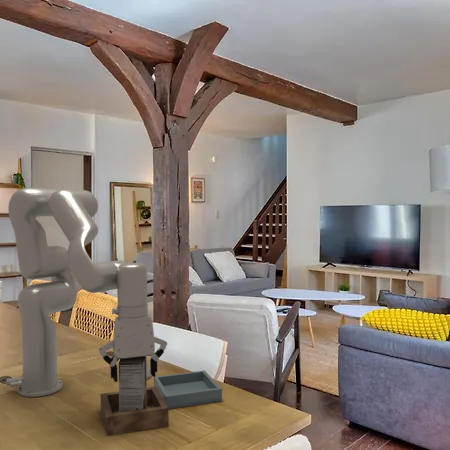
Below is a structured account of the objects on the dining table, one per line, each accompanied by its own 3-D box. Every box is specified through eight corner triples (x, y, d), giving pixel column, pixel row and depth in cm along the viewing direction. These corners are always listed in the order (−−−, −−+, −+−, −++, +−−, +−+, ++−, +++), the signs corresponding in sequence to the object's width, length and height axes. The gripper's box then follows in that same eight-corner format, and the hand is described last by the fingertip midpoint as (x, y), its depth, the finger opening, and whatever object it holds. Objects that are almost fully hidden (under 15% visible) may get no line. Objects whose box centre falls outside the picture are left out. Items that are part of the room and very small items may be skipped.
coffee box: (123, 410, 126) (122, 351, 126) (147, 409, 127) (146, 350, 126) (118, 426, 117) (117, 362, 116) (144, 425, 118) (144, 361, 117)
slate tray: (165, 409, 127) (165, 396, 127) (153, 388, 142) (153, 376, 142) (221, 401, 132) (221, 388, 132) (204, 381, 147) (204, 370, 147)
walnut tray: (106, 435, 112) (106, 417, 112) (100, 410, 126) (100, 393, 126) (168, 425, 117) (168, 407, 117) (156, 402, 131) (156, 386, 131)
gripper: (99, 317, 114) (101, 387, 115) (169, 311, 120) (170, 377, 121) (96, 311, 121) (98, 377, 122) (162, 306, 127) (164, 368, 128)
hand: (134, 377), depth 121 cm, fingers open, 9 cm apart
